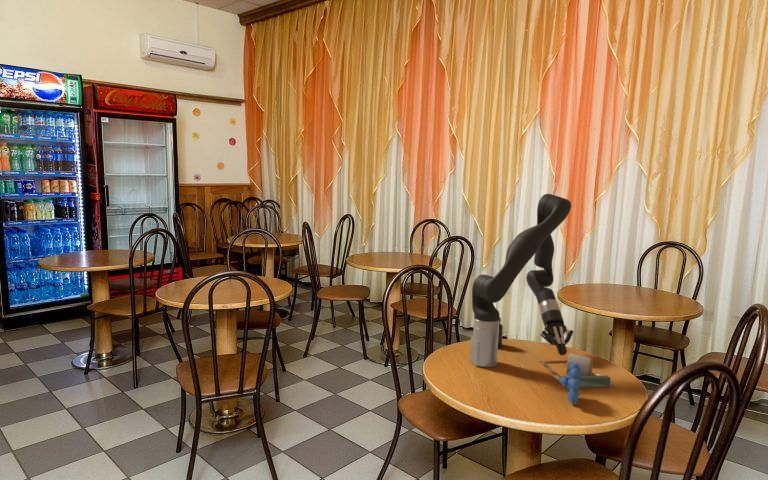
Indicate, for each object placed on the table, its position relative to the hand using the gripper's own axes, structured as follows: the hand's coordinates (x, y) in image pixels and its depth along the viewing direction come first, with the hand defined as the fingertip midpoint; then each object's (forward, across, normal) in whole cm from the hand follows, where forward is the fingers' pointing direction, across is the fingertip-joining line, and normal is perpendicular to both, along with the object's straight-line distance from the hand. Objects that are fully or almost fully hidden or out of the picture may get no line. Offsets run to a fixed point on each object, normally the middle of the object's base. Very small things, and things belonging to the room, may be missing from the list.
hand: (563, 354), depth 182 cm
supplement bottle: (-13, -19, +20) cm, 30 cm away
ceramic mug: (+9, +2, -3) cm, 10 cm away
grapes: (+23, -12, -17) cm, 31 cm away
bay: (+8, 0, -2) cm, 9 cm away
